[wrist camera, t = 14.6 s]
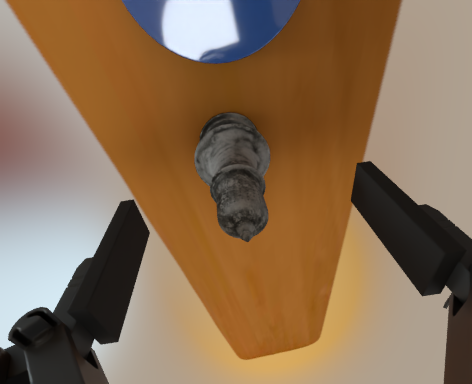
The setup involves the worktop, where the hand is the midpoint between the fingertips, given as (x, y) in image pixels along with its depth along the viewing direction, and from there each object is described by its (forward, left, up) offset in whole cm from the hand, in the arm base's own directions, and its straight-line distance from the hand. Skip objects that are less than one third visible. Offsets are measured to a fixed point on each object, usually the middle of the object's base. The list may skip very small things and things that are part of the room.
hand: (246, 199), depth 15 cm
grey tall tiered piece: (0, 0, -9) cm, 9 cm away
